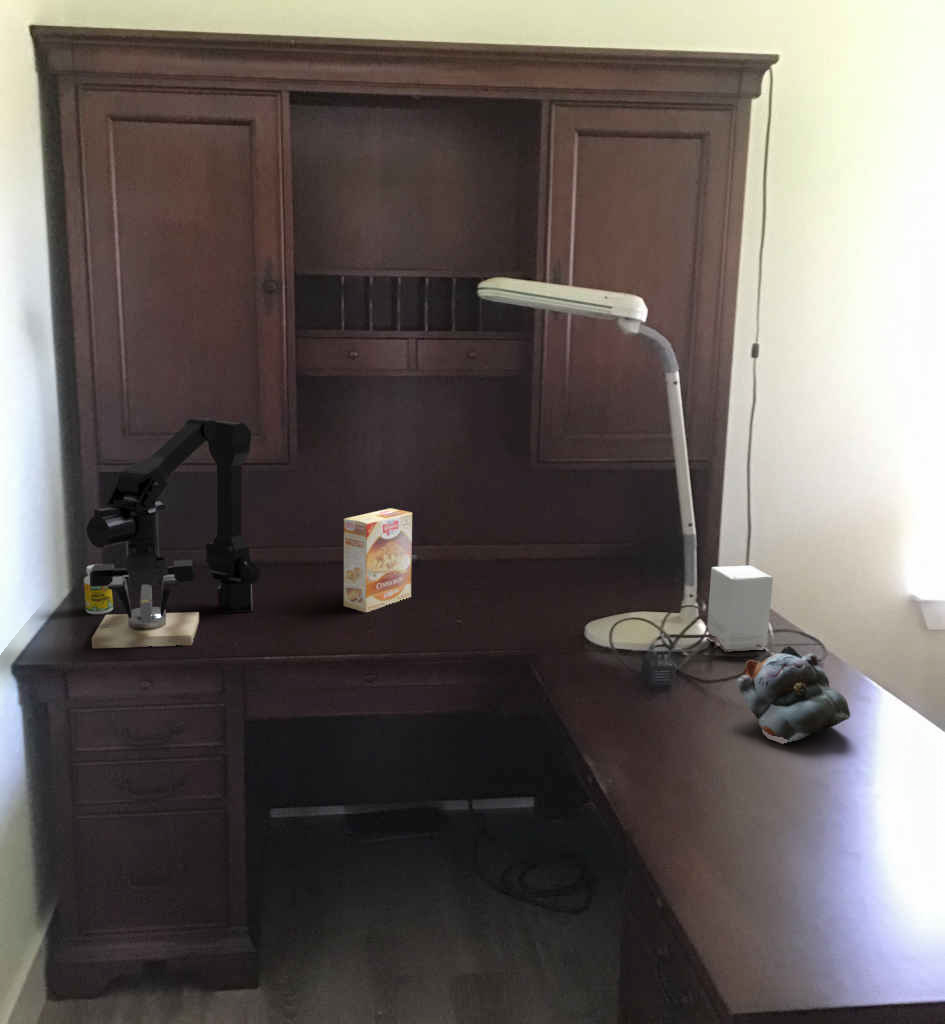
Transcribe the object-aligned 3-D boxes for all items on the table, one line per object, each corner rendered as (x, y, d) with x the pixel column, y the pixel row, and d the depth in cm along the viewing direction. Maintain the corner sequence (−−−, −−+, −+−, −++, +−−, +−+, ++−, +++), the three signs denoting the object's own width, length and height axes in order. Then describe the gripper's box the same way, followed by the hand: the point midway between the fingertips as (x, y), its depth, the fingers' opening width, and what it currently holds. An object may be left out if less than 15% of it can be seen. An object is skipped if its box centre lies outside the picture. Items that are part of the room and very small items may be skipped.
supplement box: (768, 651, 196) (774, 576, 193) (725, 653, 194) (731, 578, 191) (746, 635, 204) (752, 564, 201) (704, 638, 203) (710, 566, 199)
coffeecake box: (366, 613, 213) (366, 523, 209) (342, 606, 217) (341, 518, 213) (412, 597, 225) (413, 511, 220) (388, 591, 229) (389, 507, 225)
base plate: (199, 621, 205) (198, 611, 205) (191, 645, 192) (191, 634, 191) (106, 624, 202) (105, 614, 202) (92, 648, 189) (91, 637, 188)
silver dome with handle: (129, 614, 202) (127, 583, 200) (166, 612, 204) (164, 581, 202) (127, 636, 190) (125, 602, 188) (166, 633, 192) (164, 600, 190)
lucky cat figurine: (768, 750, 153) (739, 661, 155) (750, 747, 165) (723, 664, 167) (863, 723, 153) (832, 634, 156) (838, 721, 165) (810, 639, 167)
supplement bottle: (109, 605, 214) (107, 561, 212) (116, 612, 210) (113, 567, 208) (83, 609, 211) (80, 565, 209) (89, 616, 207) (86, 571, 205)
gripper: (85, 549, 178) (90, 634, 181) (195, 544, 183) (198, 626, 186) (90, 534, 188) (94, 614, 192) (193, 530, 193) (196, 608, 197)
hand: (146, 616), depth 191 cm, fingers open, 5 cm apart
